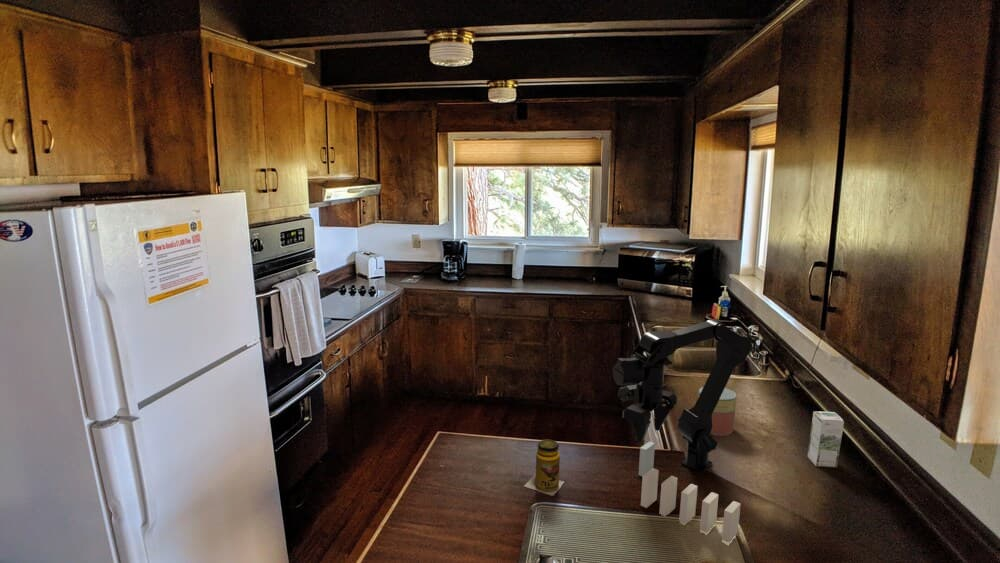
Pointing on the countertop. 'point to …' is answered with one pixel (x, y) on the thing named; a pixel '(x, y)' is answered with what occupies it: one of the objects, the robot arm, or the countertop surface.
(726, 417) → the canned food
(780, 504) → the countertop surface
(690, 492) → the domino
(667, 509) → the domino
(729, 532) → the domino
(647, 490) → the domino
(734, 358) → the robot arm
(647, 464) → the domino
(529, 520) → the countertop surface
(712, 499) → the domino
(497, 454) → the countertop surface
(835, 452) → the syrup box
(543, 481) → the condiment
